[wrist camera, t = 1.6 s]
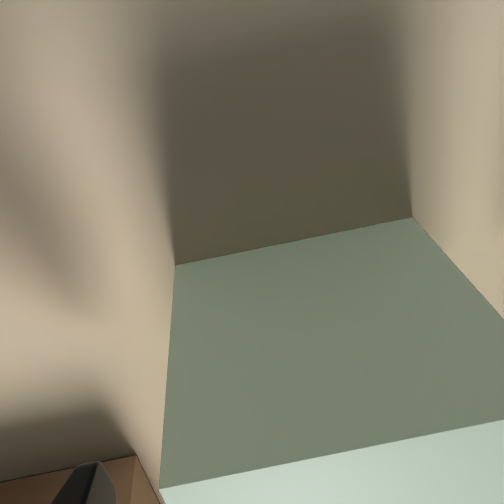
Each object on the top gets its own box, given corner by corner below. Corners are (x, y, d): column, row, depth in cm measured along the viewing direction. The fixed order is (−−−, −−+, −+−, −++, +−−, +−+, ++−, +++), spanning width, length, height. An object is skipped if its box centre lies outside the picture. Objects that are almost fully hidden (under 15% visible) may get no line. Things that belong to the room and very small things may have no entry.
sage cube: (411, 215, 10) (579, 404, 5) (410, 382, 12) (524, 600, 8) (175, 263, 10) (159, 489, 5) (223, 420, 12) (239, 657, 8)
